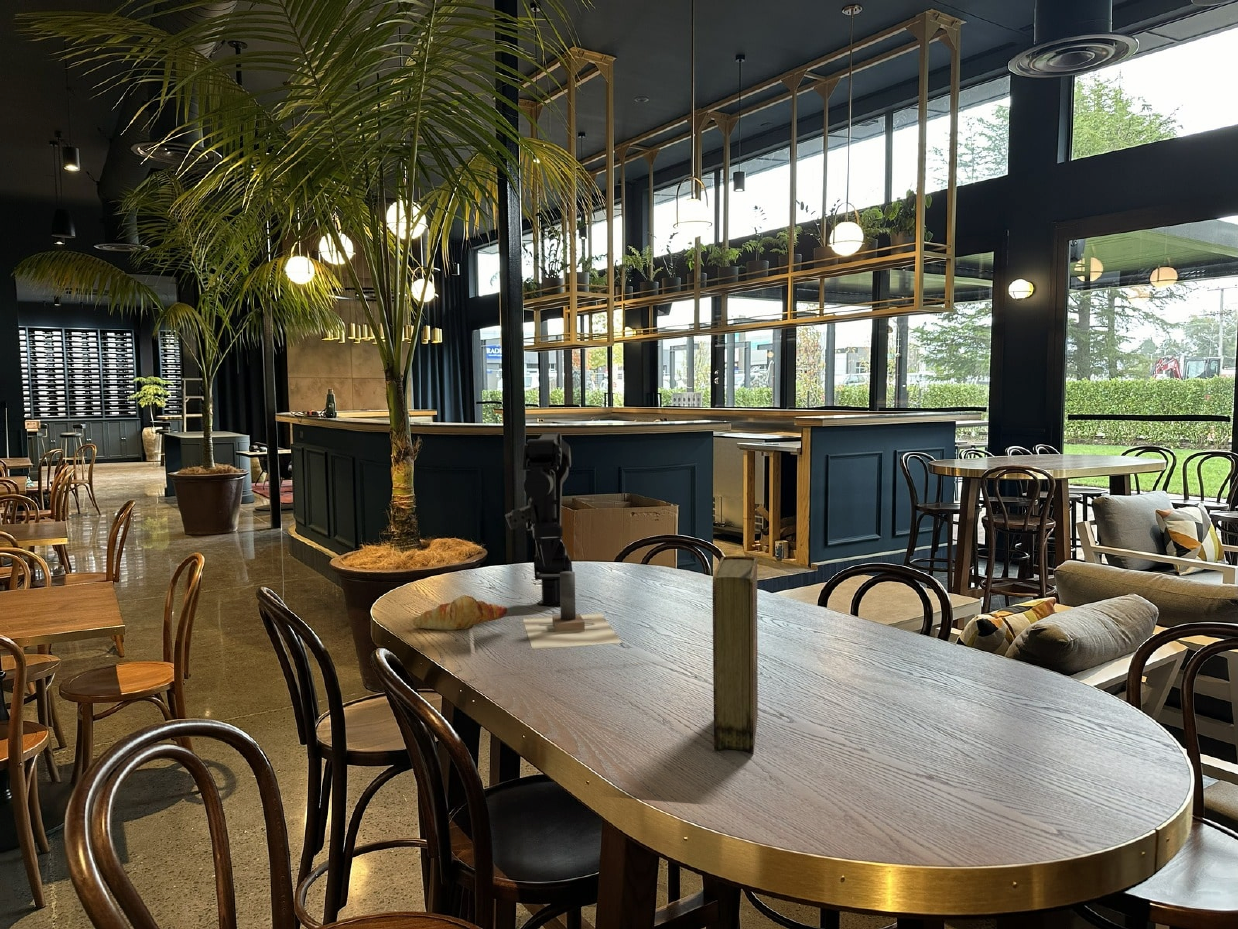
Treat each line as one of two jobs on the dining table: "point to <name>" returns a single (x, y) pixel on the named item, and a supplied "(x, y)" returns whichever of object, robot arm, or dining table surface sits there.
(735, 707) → the book
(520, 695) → the dining table surface
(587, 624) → the birch board
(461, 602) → the croissant
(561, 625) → the grey post on base
